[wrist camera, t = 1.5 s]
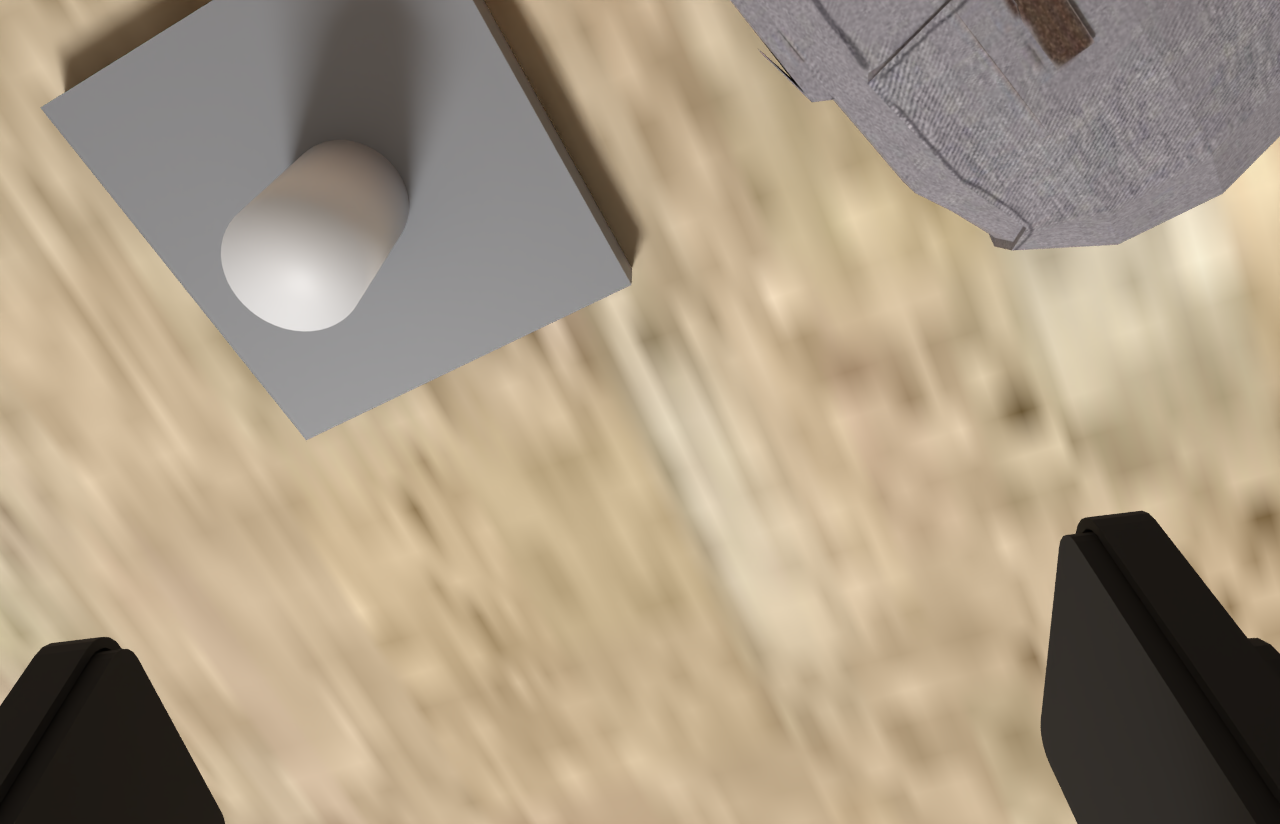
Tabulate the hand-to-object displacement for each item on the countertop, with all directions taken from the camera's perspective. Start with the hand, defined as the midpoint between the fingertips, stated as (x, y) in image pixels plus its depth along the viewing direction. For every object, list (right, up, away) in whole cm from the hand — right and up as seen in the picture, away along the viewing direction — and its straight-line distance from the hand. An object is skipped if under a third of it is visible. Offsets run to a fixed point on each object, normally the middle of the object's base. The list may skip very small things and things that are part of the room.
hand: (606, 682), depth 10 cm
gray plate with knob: (-9, +11, +24) cm, 28 cm away
